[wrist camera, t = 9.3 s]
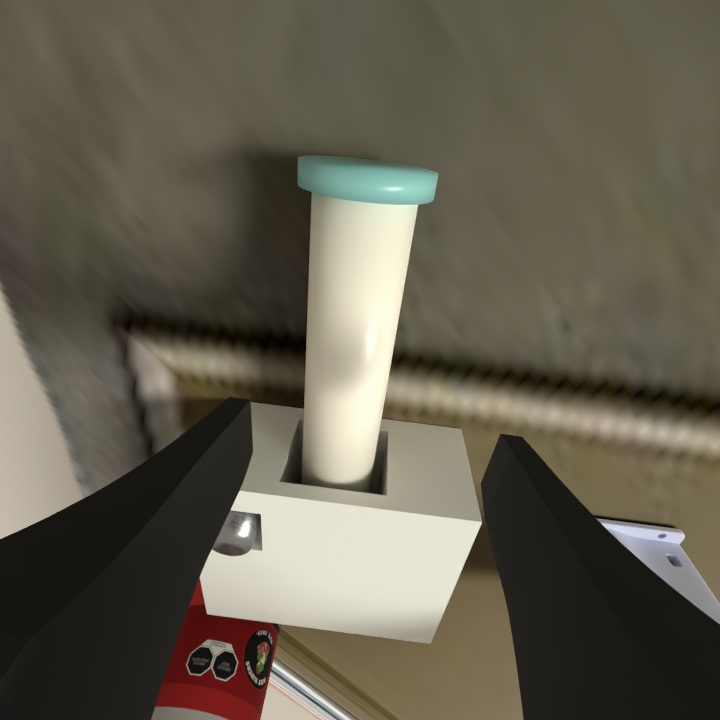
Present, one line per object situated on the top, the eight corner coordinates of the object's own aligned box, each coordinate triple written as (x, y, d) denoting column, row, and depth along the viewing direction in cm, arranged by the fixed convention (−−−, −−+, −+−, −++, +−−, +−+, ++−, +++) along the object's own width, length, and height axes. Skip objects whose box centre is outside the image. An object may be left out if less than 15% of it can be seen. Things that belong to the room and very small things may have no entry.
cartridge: (432, 166, 15) (446, 182, 11) (378, 465, 24) (375, 535, 20) (311, 152, 15) (282, 162, 11) (301, 456, 24) (282, 523, 20)
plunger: (272, 465, 22) (250, 529, 18) (273, 494, 23) (252, 558, 20) (230, 460, 22) (200, 522, 18) (233, 489, 23) (205, 552, 20)
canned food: (307, 585, 34) (274, 764, 24) (230, 598, 36) (172, 767, 26) (263, 532, 30) (204, 717, 21) (180, 549, 32) (92, 725, 23)
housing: (461, 428, 23) (482, 522, 18) (423, 547, 30) (430, 643, 24) (229, 399, 23) (180, 483, 18) (241, 524, 30) (207, 614, 24)
